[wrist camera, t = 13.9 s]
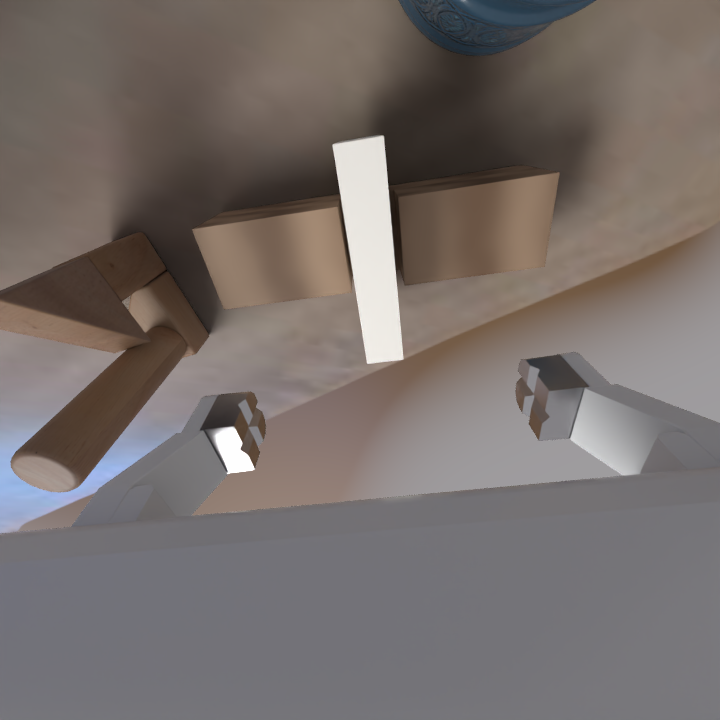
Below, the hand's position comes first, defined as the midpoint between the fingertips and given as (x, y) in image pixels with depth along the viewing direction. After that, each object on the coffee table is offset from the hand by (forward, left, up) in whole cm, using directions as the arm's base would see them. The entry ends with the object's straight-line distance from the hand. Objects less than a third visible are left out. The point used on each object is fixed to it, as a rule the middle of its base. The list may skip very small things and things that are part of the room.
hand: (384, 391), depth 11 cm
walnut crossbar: (0, 0, -22) cm, 22 cm away
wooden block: (-20, -3, -22) cm, 30 cm away
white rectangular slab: (0, 0, -19) cm, 19 cm away
